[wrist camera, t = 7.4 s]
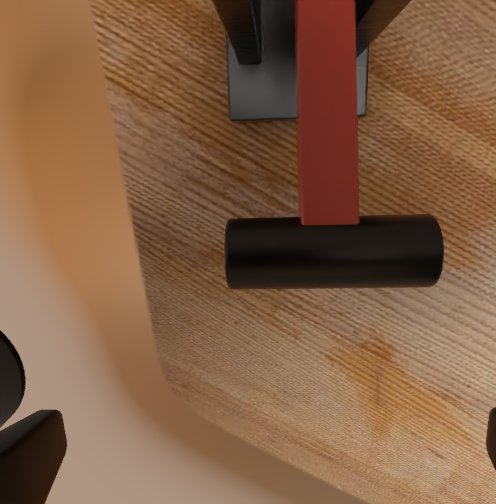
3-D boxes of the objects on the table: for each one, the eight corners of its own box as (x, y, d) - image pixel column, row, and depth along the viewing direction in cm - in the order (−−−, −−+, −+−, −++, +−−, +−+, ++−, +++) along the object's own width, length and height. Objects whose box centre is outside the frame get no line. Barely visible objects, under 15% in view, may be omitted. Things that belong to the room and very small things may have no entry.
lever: (410, 283, 9) (458, 292, 7) (235, 284, 9) (221, 294, 7) (401, -158, 9) (445, -302, 7) (228, -144, 10) (212, -277, 7)
